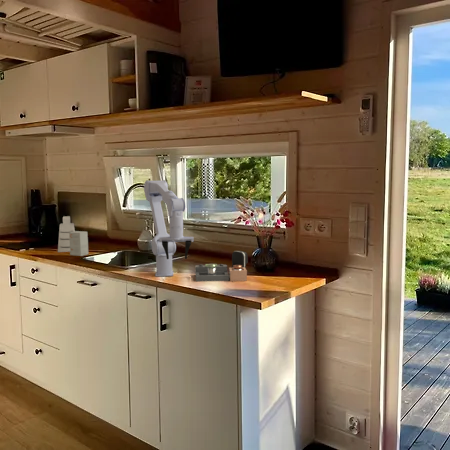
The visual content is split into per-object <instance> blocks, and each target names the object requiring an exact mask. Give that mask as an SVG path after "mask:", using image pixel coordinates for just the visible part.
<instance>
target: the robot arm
mask: <svg viewBox="0 0 450 450" xmlns="http://www.w3.org/2000/svg"><path fill="white" fill-rule="evenodd" d="M143 190H144V197H145V200H147V202H149V206H150V209H151V216H152V220H153V225H154V230H155V234H156V235H154V237H153V238H152V240H151V251H152V254H153V255H154V256H155V261H156V262H155V263H156V265H155V266H156V269H155V270H156V271H155V273H154V274H155V275H154V276H155V277H173V276H174V270H173V256H174V254H175V253H176V251H177V244H176V243H181V242H182V243H185V245H184V246H185V247H184V248H185V249H184V250H185V251H184V259H185V260H186V259H187V258H188V253H189V249H190V247H191V246H192V245H191V244H192V243H193V242H194V239H195V238H194V236H184V212H185V210H186V201H185V199H184V198H182V197H181V198H180V197H178V196H177V195H176V194H175V193H174V191H173V190H169V185H168V182H167V181H166V180H165V179H162V180H145V181H144V184H143ZM162 201H163V202H164V203H165V205H166V208H167V215H168V217H169V220H168V222H169V233H168V232H167V231H168V230H167V227H166V221H165V217H164V212H163V207H162Z"/></svg>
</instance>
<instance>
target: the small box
mask: <svg viewBox="0 0 450 450" xmlns="http://www.w3.org/2000/svg"><path fill="white" fill-rule="evenodd" d="M88 236H89V235H88V231H85V230H84V231H83V230H82V231H81V230H80V231H79V230H75V231H74V232H69V240H70V252H69V255H70V256H76V257H77V256H78V257H79V256H80V257H84V256H87V255H89V237H88Z"/></svg>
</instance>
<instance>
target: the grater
mask: <svg viewBox="0 0 450 450" xmlns="http://www.w3.org/2000/svg"><path fill="white" fill-rule="evenodd" d="M58 229H59V231H58V244H57V253H66V252H67V253H70V240H69V232H74V231H76V230H75V229H76V228H75V223H74V222H71V216H70V215H67V216H65V215H63V217H62V222H61V223H60V224H59V228H58Z"/></svg>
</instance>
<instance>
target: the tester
mask: <svg viewBox="0 0 450 450" xmlns="http://www.w3.org/2000/svg"><path fill="white" fill-rule="evenodd" d="M208 264H209V263H205V264H201V263H200V264H197V265H194V266H195V267H194V270H195V271H194V273H195V274H194V275H195V281H196V282H229V281H230V279H229V271H228V265H227V264H223V263H220V264H217V263H215V264H216V275H208Z"/></svg>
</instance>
